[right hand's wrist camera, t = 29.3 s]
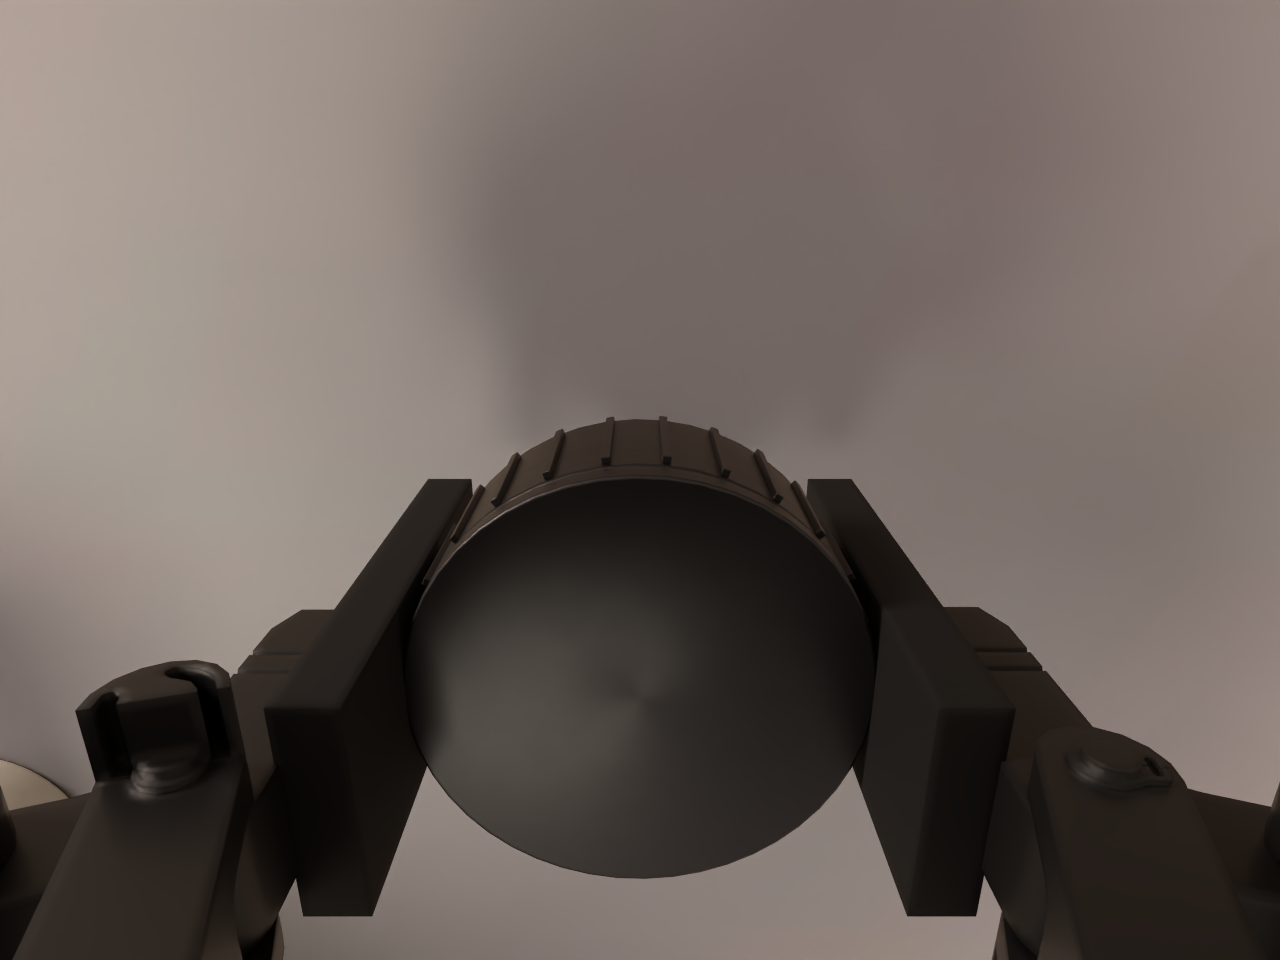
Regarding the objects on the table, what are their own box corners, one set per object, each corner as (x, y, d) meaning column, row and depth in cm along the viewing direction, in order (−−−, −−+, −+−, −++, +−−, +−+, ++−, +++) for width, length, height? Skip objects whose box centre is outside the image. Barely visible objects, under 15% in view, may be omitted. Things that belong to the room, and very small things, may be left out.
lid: (437, 749, 13) (396, 865, 11) (446, 391, 11) (396, 442, 9) (800, 781, 13) (831, 901, 11) (874, 435, 11) (933, 496, 9)
